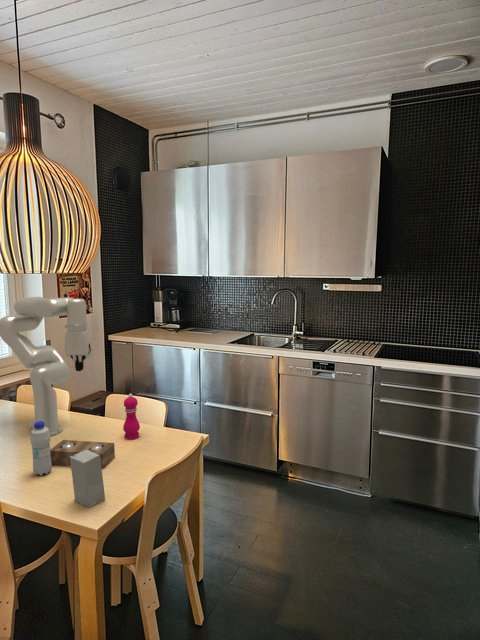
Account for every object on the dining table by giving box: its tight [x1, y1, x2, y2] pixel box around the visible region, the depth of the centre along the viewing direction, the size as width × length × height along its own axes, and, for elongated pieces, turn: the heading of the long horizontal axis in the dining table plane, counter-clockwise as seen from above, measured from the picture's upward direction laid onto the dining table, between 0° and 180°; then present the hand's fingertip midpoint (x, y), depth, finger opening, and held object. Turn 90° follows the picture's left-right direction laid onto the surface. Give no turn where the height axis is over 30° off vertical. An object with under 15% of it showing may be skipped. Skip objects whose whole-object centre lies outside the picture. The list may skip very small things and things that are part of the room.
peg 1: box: [62, 443, 73, 449], centre depth 166 cm, size 4×4×6 cm
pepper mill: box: [122, 393, 141, 441], centre depth 187 cm, size 7×7×20 cm
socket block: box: [50, 439, 116, 470], centre depth 165 cm, size 22×10×6 cm, turn 82°
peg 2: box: [91, 444, 102, 451], centre depth 164 cm, size 4×4×6 cm
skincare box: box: [70, 450, 106, 508], centre depth 137 cm, size 8×7×16 cm
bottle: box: [30, 421, 53, 477], centre depth 155 cm, size 7×7×20 cm
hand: (79, 370), depth 179 cm, fingers closed
